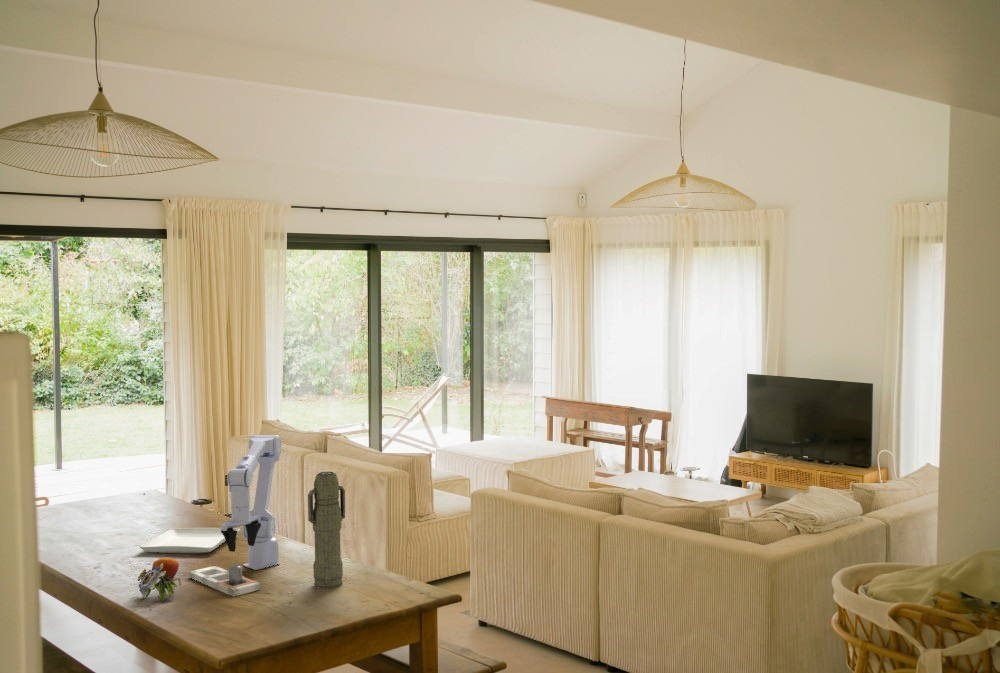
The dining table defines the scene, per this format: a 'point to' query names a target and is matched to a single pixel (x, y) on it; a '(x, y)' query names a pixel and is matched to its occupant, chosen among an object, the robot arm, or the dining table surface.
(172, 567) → the fruit
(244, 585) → the hole rail
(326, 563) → the thermos
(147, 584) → the passion flower
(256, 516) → the robot arm
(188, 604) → the dining table surface
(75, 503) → the dining table surface
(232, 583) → the metal peg
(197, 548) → the square plate
